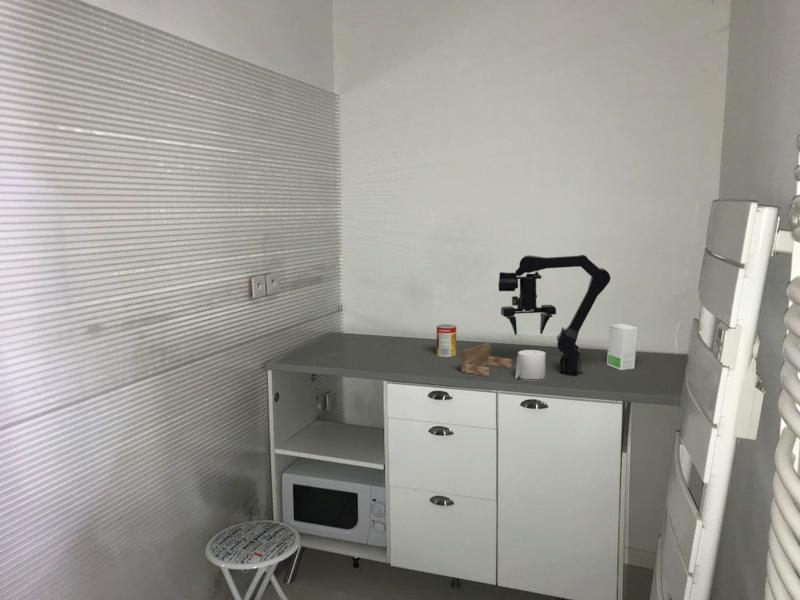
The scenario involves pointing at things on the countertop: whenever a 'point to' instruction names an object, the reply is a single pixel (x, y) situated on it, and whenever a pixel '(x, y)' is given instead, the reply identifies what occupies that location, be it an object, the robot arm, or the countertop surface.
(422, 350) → the countertop surface
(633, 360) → the skincare box
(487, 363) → the roll cradle
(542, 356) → the toilet tissue
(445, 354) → the canned food
